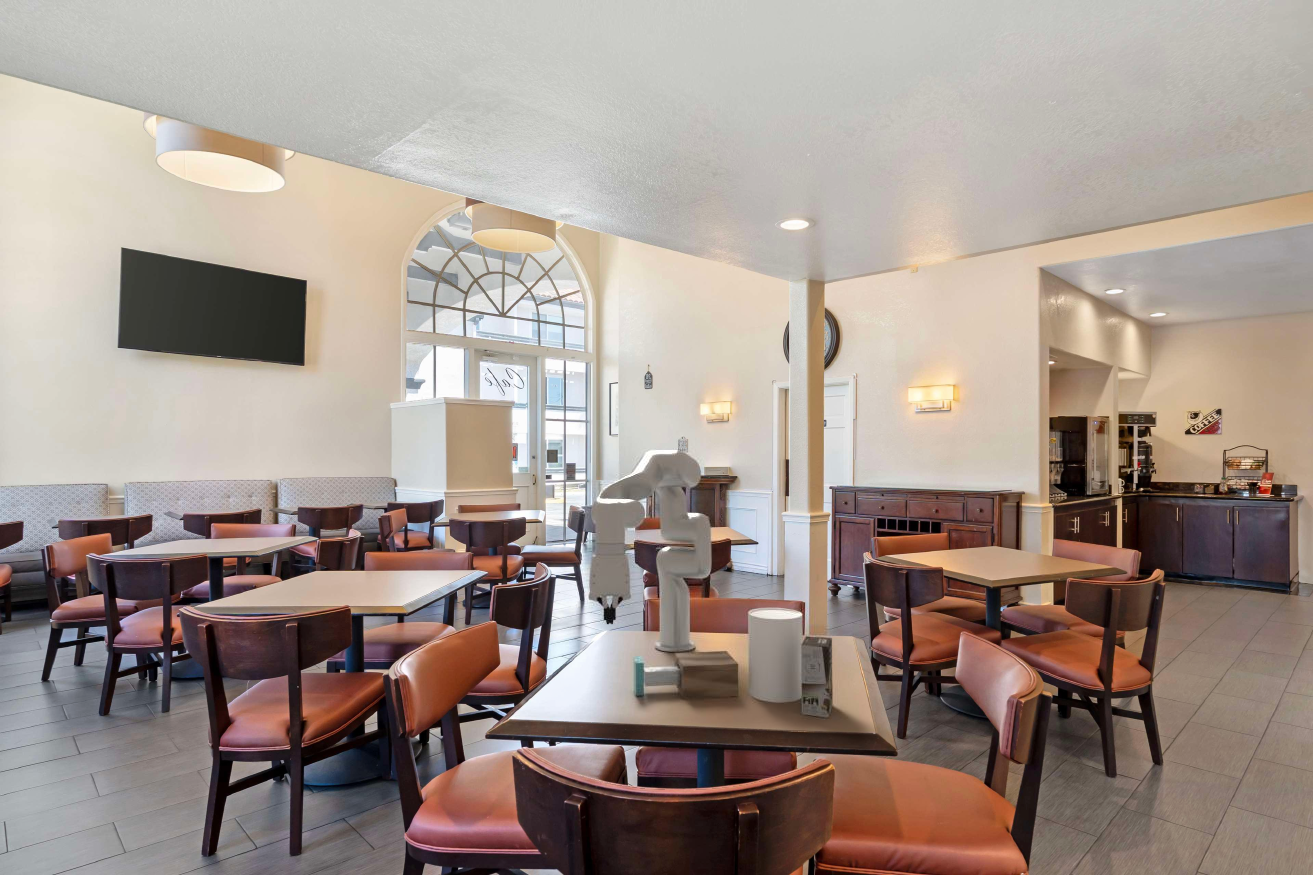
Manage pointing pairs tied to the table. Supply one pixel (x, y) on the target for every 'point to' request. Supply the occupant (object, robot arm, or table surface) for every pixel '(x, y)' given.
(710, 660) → the block
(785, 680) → the canister
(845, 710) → the table surface
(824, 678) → the coffee box
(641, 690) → the peg
